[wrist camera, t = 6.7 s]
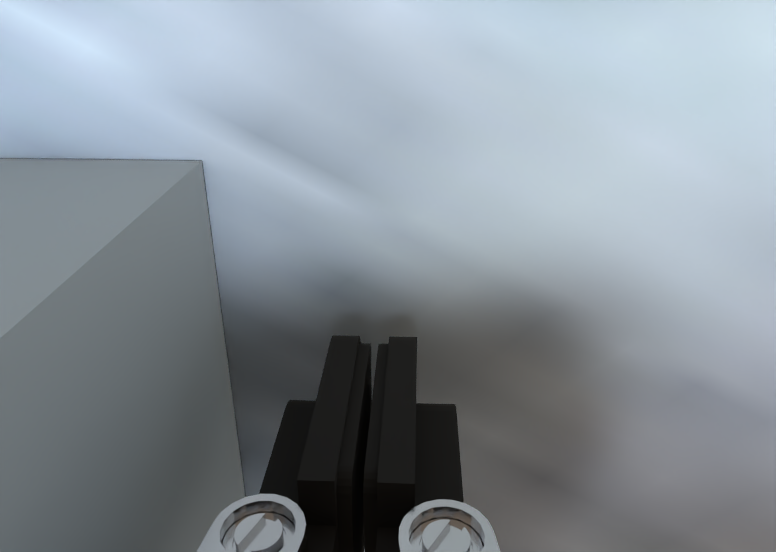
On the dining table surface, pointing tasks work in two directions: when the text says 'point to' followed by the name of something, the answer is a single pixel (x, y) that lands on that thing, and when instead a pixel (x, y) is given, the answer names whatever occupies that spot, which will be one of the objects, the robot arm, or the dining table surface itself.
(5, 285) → the grey box
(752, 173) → the dining table surface
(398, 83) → the dining table surface
